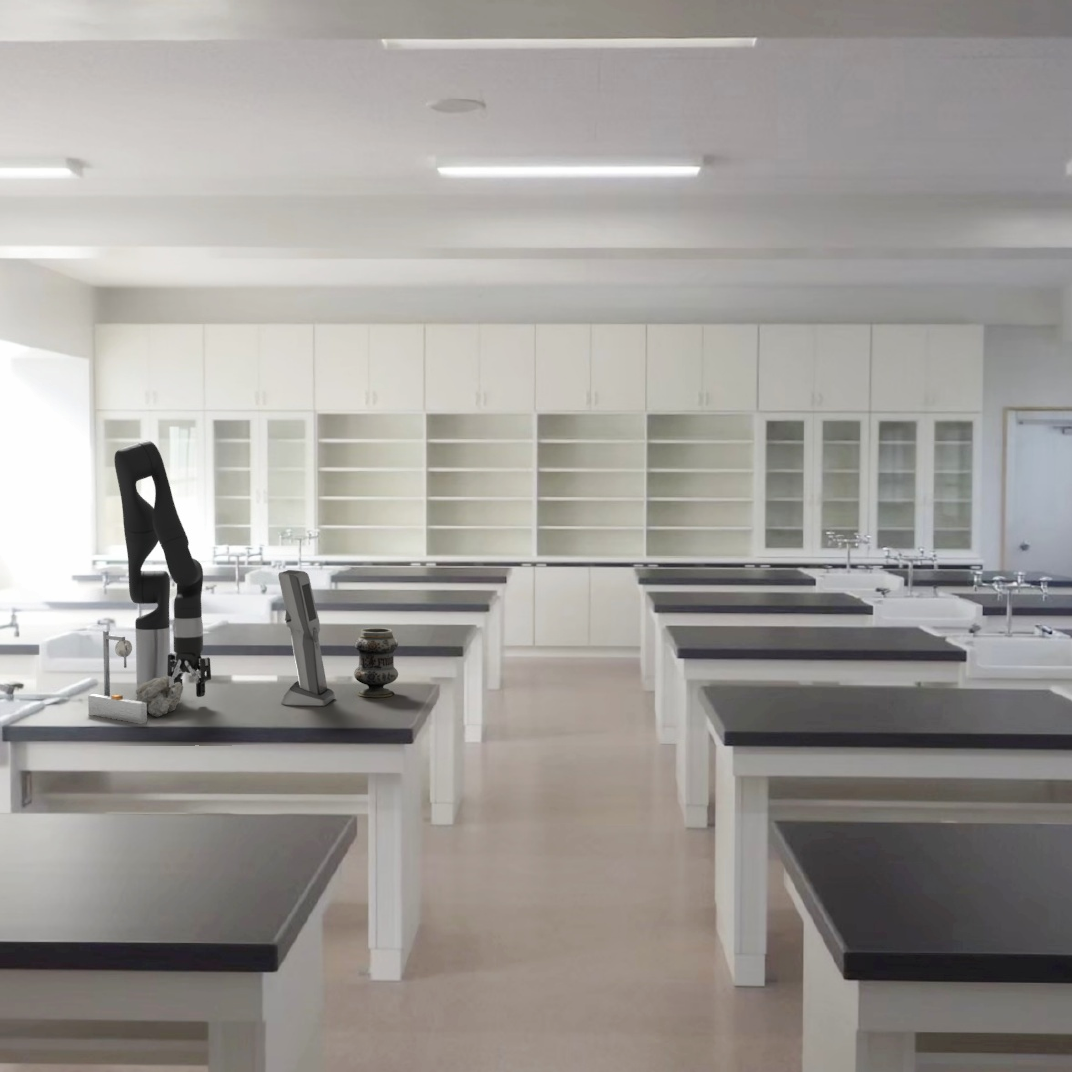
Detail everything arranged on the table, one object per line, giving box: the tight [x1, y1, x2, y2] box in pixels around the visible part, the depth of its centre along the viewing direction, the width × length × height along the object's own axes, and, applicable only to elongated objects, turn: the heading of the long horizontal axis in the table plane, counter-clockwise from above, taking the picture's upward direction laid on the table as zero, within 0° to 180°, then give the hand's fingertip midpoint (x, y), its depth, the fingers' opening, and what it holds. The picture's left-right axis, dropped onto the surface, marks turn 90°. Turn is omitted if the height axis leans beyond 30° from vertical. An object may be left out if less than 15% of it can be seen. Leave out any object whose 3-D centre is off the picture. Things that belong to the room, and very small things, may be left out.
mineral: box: [135, 677, 184, 718], centre depth 324 cm, size 12×17×10 cm
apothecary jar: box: [353, 627, 399, 699], centre depth 348 cm, size 12×12×18 cm
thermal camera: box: [277, 569, 336, 707], centre depth 337 cm, size 12×13×35 cm
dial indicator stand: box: [102, 630, 133, 697], centre depth 332 cm, size 6×11×20 cm, turn 57°
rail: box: [87, 693, 148, 725], centre depth 316 cm, size 2×20×6 cm, turn 57°
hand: (189, 694), depth 336 cm, fingers open, 8 cm apart
